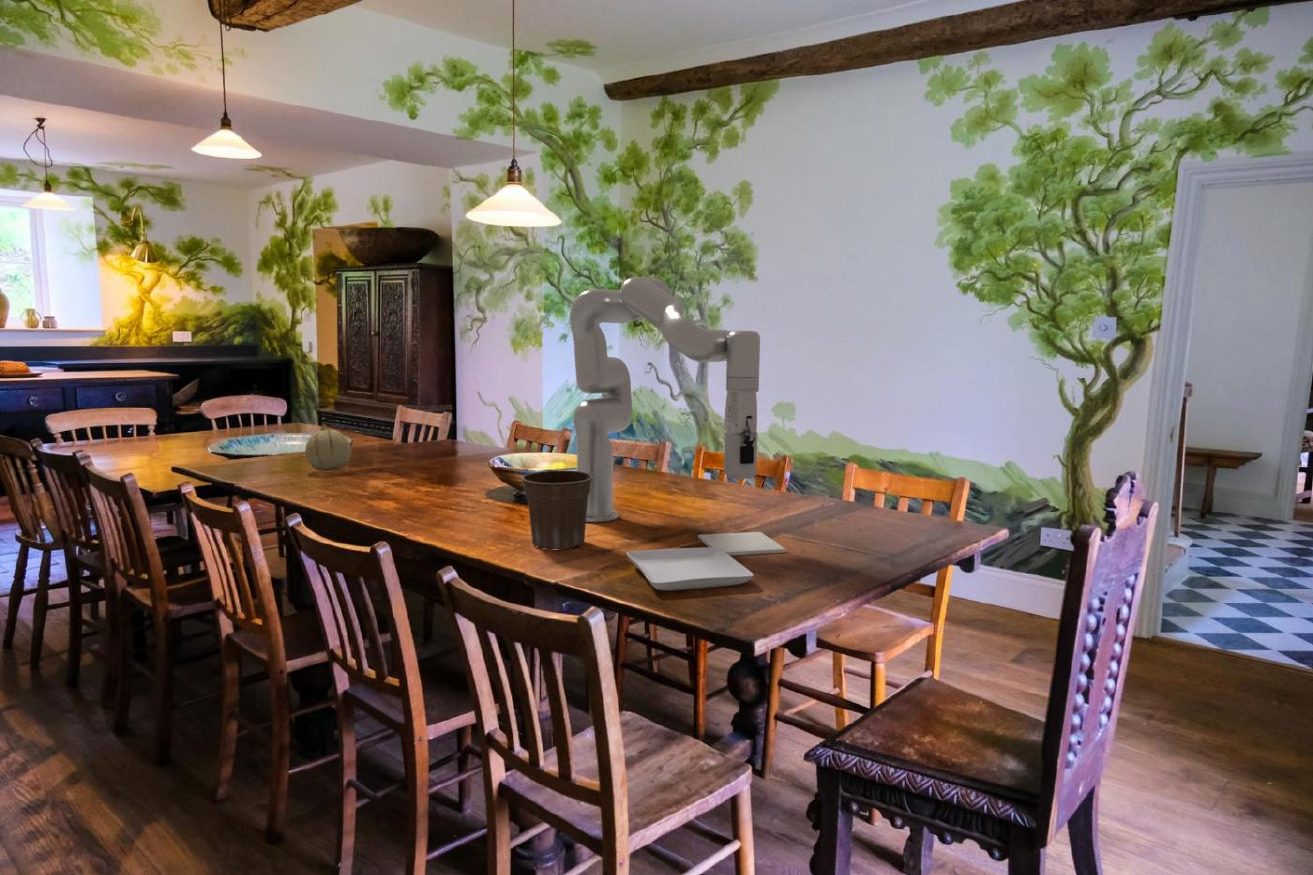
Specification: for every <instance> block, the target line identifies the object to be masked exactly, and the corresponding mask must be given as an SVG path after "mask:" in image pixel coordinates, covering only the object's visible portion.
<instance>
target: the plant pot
mask: <svg viewBox="0 0 1313 875" xmlns="http://www.w3.org/2000/svg"><path fill="white" fill-rule="evenodd" d="M592 479H593V476H592V475H591V474H589V473H585V472H580V471H577V470H568V469H566V470H561V469H560V470H544V471H536V472H535V471H534V472H530V473H526V474H523V475H522V476H521V481H522V482H523V485H524V492H525V496H526V500H527V506H528V516H529V523H530V524H529V525H530V533H531V542H532V545H533V544H534V545H535V546H538V548H541V547H542V548H546V549H565V550H570V548H572V549H575V547H578V546H579V547H581V546H583V545H584V544H585V538H586V537H585V536H586V525H587V524H586V523H587V522H586V514H587V502H588V494H589V493H590V483H591V480H592ZM534 545H533V546H534ZM535 546H534V547H535ZM539 546H540V547H539ZM542 548H541V549H542ZM546 549H545V550H546Z"/></svg>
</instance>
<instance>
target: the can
mask: <svg viewBox="0 0 1313 875" xmlns="http://www.w3.org/2000/svg"><path fill="white" fill-rule="evenodd" d="M743 433H749V431H743ZM744 437H745V439H746V437H747V436H744ZM754 442H755V446H754V463H753V464H741V463H740V446H742V444H741V434H740V433H739V435H735V434H733V433H732V431H731V427H729V426H728V430H727V431H724V449H723V450H724V452H723V453H724V454H723V455H724V457H723V458H724V460H723V473H724V475H726V476H727V478H730V479H732V480H733V479H734V480H749V479H750V480H751V479H753V478H754V476H756V475H757V462H758V461H757V459H758V458H757V457H758V432H757V431H756V435H755V441H754Z"/></svg>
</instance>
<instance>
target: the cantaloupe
mask: <svg viewBox="0 0 1313 875" xmlns="http://www.w3.org/2000/svg"><path fill="white" fill-rule="evenodd" d="M320 429H321V430H319V431H316V432H315V433H313V434H312V435H311V436H310V437H309V439H308V440H307V442H306V444H305V451H304V452H305V458H306V460H307V461H308V464H309V465H311V467H312V468H314V469H315V470H317V471H319V470H321V471H320V472H323V471H332V470H337V471H339V470H342V468H344V467H345V466H346V465H347V464H348V463H349V461H350V458H351V455H352V447H351V443H350V441H349V440H348V437H346V435H344V434H343V433H342V432H340V431H338V430H335V429H327V428H326V427H321V428H320Z"/></svg>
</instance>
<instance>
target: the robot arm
mask: <svg viewBox="0 0 1313 875" xmlns="http://www.w3.org/2000/svg"><path fill="white" fill-rule="evenodd" d="M569 312H570V313H569V322H570V328H571V332H572V340H573V354H574V369H575V381H576V385H577V387H578V389H579V390H580V391H581V392H582V393H584V394H589V395H590V394H591V395H593V394H595V395H596V394H601V396H602V397H598V398H591V399H587V400H584V401H582V402H580V403H579V404H578V405H577V406H576V407H575V409H574V411H573V415H572V416H573V417H572V419H573V420H572V422H573V428H574V433H575V441H576V460H577V461H576V471H580V472H585V473H589V474H591V475H592V476H593V479H592V480H591V483H590V493H589V494H588V502H587V514H586V523H602V522H603V523H605V522H610V521H613V520H616V519H618V518H619V512H618V511H617V510H614V509H613V508H614V507H613V506H614V502H613V500H614V495H613V494H614V489H613V488H614V487H613V486H614V450H613V445H612V443H611V440H610V437H609V434H613V433H620V432H622V431H625V430H626V429H628V427H629V426H630V425H631V424H632V419H633V402H632V401H633V400H632V399H633V397H632V383H631V373H630V371H629V369H628V368H629V367H628V366H627V365H626V363H625V362H624V361H623V360H622V359H620V358H619V357H614V356H608V351H607V340H606V337H605V334H604V331H603V329H602V328H601V326H600V325H601V323H605V324H606V323H609V324H626V323H630V322H633V321H637V320H640V319H644V320H645V321H646V322H648V323H649V324H651V325H652V326H653V327H655V328H656V329H658V330H659V331H660V333H661V334H662V337H663V338H664V340H666V342H667V343H668V344H669V345H670V346H671V347H672V348H673V349H674V350H676V351H678V352H679V353H680V354H682V355H683V356H685V357H686V358H688V359H689V360H692V361H694V362H698V363H710V362H711V363H719V362H726V363H725V364H726V366H725V367H726V368H725V369H726V370H725V371H726V372H725V374H726V376H725V378H726V380H725V391H726V397H725V408H724V420H723V421H724V422H723V425H724V426H723V429H724V432H726V431H727V430H728V426H729V427H731V431H732V433H733V434H735V435H739V433H740V434H741V444H742V446H740V463H741V464H753V463H754V446H755V442H754V441H755V435H756V432H757V427H758V401H757V393H759V391H760V390H759V389H760V388H759V387H760V386H759V385H760V361H761V360H760V358H761V357H760V354H761V336H760V334H759V333H758V332H757V331H754V330H733V331H732V330H728V329H727V330H726V329H713V328H710V329H707V328H706V329H703V328H701V327H699V326H697V325H696V324H694V323H693V322H691V321H690V320H688V319H687V318H685V316H684V314H685V307H684V303H683V302H682V301H681V300H679V299H678V298H676V297H675V296H674V295H672V291H671V289H670V287H669V285H668V283H666V282H665V281H664V280H662V279H660V278H658V277H657V278H656V277H647V276H633V277H629V278H628V279H626V280H625V281H624V282H623V283H622V285H621V287H620V289H619V290H617V289H608V288H607V289H606V288H591V289H588V290H587V289H586V290H585V291H583V292H581V293H579V295H577V296H576V298H575V299H574V301H573V303H572V304H571V307H570V311H569ZM743 431H749V433H743ZM744 436H747V437H746V439H745V437H744Z"/></svg>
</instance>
